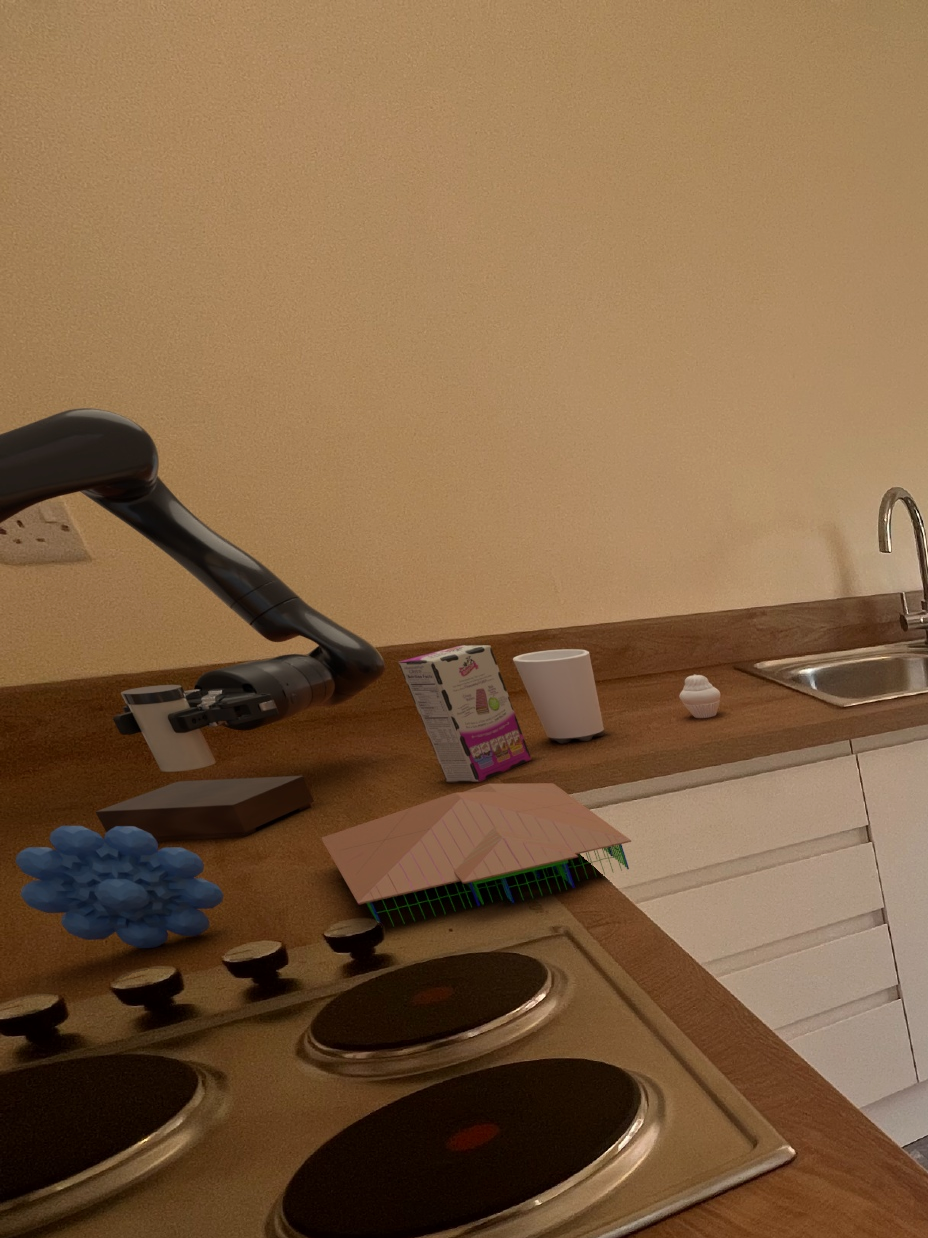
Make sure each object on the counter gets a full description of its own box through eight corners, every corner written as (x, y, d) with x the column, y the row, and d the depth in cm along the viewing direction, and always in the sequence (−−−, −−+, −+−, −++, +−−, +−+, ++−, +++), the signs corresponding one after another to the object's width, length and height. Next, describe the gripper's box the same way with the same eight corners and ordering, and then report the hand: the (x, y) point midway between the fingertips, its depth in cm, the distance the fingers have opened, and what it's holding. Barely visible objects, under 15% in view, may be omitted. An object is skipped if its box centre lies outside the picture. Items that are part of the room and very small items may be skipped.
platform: (112, 844, 120) (94, 811, 118) (193, 812, 130) (177, 781, 128) (248, 837, 122) (232, 804, 120) (316, 805, 132) (303, 775, 130)
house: (377, 944, 95) (340, 861, 91) (327, 856, 116) (296, 785, 112) (648, 875, 109) (626, 801, 106) (561, 808, 130) (540, 744, 127)
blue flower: (60, 983, 88) (-21, 851, 83) (65, 958, 93) (-11, 831, 87) (242, 942, 96) (179, 818, 90) (239, 920, 100) (179, 801, 95)
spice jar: (147, 773, 120) (108, 694, 116) (181, 761, 124) (144, 685, 120) (196, 771, 121) (158, 693, 117) (228, 759, 125) (193, 684, 121)
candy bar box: (499, 760, 150) (458, 644, 143) (533, 760, 150) (493, 644, 143) (442, 783, 140) (395, 660, 133) (478, 783, 140) (433, 659, 133)
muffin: (700, 711, 178) (689, 670, 174) (733, 712, 177) (723, 670, 174) (676, 720, 172) (665, 677, 169) (710, 721, 171) (699, 678, 168)
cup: (596, 727, 168) (572, 646, 162) (625, 736, 163) (601, 653, 157) (528, 740, 161) (500, 656, 155) (556, 749, 156) (528, 663, 150)
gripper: (178, 665, 130) (57, 694, 115) (305, 661, 132) (202, 689, 117) (206, 724, 133) (92, 760, 118) (330, 720, 135) (233, 755, 120)
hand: (148, 725), depth 118 cm, fingers closed on spice jar, 5 cm apart
